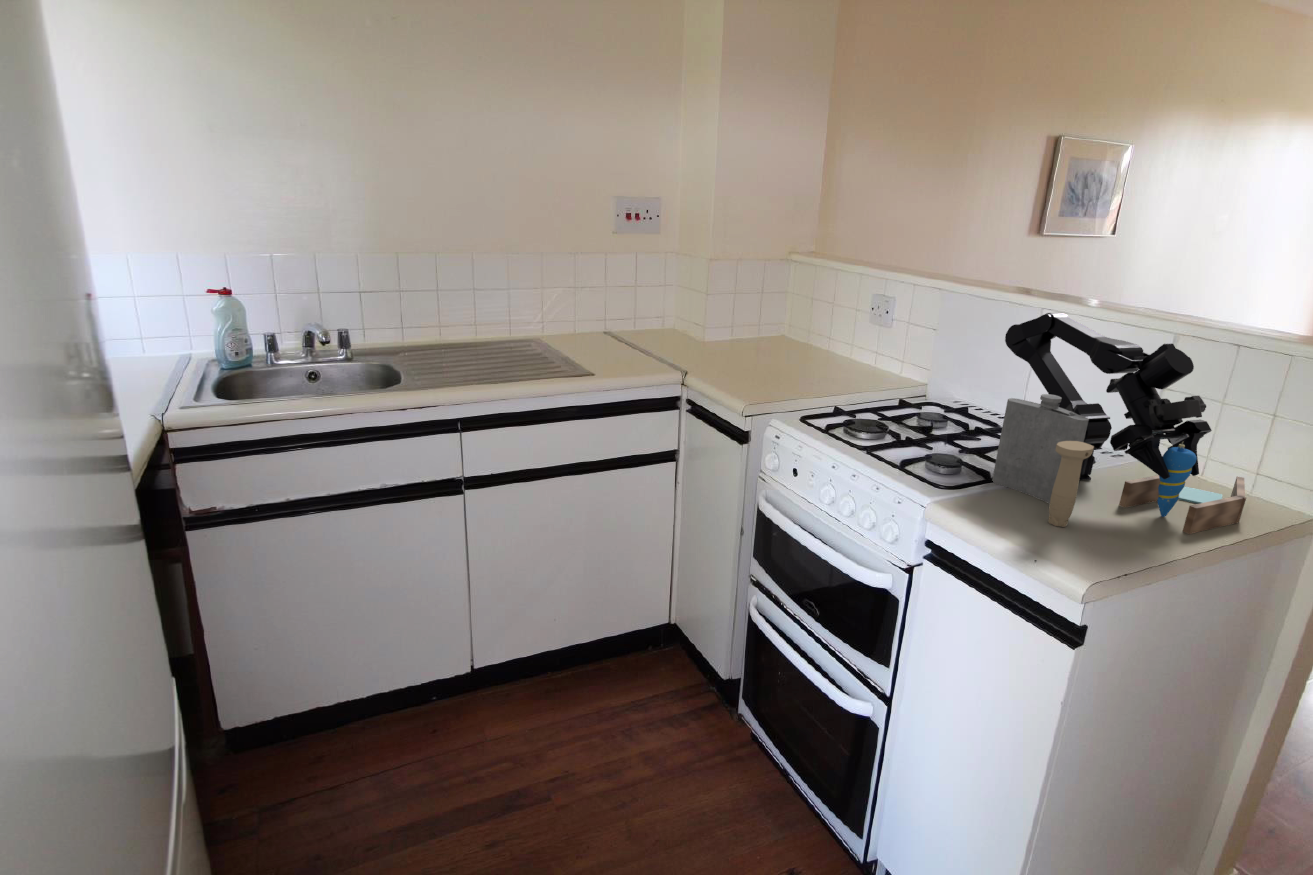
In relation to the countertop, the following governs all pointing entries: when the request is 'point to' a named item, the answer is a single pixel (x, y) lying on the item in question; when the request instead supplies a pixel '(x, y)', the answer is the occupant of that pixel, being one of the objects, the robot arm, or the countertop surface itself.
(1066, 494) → the handle
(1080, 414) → the robot arm
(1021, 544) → the countertop surface
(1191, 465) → the ornament
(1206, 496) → the pad
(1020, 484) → the hip flask
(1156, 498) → the channel
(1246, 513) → the countertop surface
